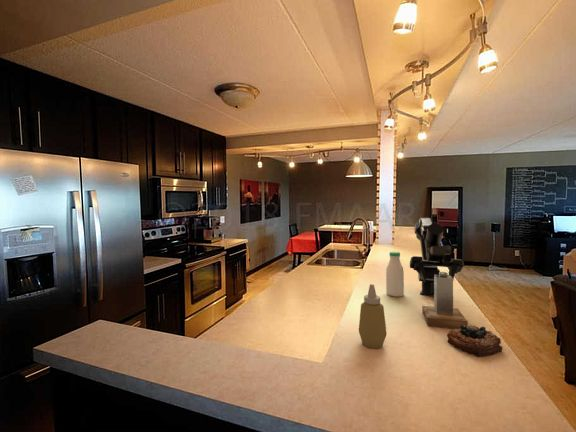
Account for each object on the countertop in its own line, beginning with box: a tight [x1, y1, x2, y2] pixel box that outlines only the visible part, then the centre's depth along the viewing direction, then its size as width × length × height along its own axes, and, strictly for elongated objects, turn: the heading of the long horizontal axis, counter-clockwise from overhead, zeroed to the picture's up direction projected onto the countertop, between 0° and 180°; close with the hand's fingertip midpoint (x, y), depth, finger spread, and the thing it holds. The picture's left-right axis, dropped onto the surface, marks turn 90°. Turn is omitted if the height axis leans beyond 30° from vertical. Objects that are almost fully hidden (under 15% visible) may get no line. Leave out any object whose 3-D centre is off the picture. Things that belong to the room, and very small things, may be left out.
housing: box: [433, 271, 454, 316], centre depth 99 cm, size 5×5×14 cm
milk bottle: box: [385, 251, 405, 298], centre depth 131 cm, size 8×8×20 cm
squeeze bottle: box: [358, 284, 387, 349], centre depth 83 cm, size 8×8×18 cm
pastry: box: [446, 324, 503, 358], centre depth 81 cm, size 11×12×6 cm
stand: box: [421, 305, 469, 330], centre depth 99 cm, size 12×12×3 cm
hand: (438, 282), depth 107 cm, fingers open, 9 cm apart
